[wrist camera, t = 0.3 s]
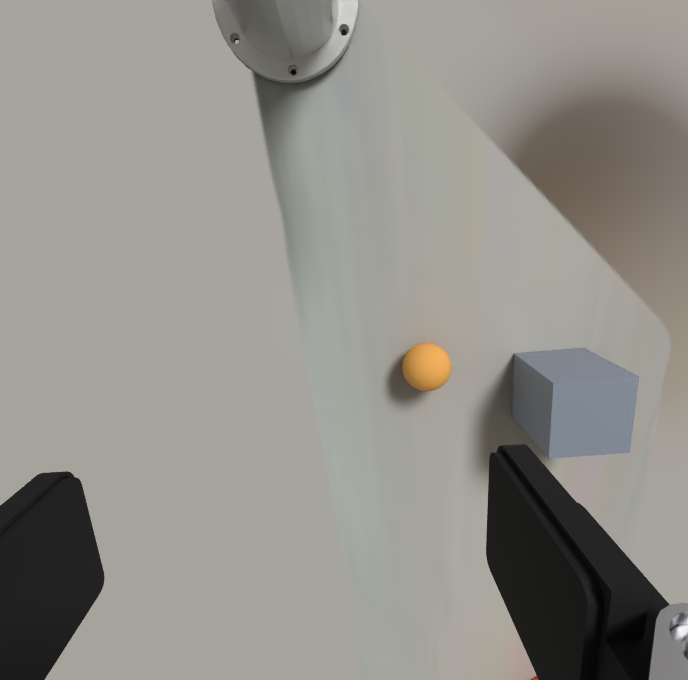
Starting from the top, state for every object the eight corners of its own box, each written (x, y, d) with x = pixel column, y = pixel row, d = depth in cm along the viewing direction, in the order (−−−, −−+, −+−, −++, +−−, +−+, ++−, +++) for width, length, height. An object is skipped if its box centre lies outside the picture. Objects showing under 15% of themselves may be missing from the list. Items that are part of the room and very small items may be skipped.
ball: (398, 339, 46) (405, 353, 41) (444, 335, 46) (457, 349, 41) (400, 382, 47) (407, 400, 43) (444, 378, 47) (457, 396, 43)
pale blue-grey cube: (514, 353, 47) (553, 383, 38) (584, 348, 47) (639, 376, 38) (511, 417, 49) (548, 458, 40) (578, 412, 49) (629, 452, 40)
